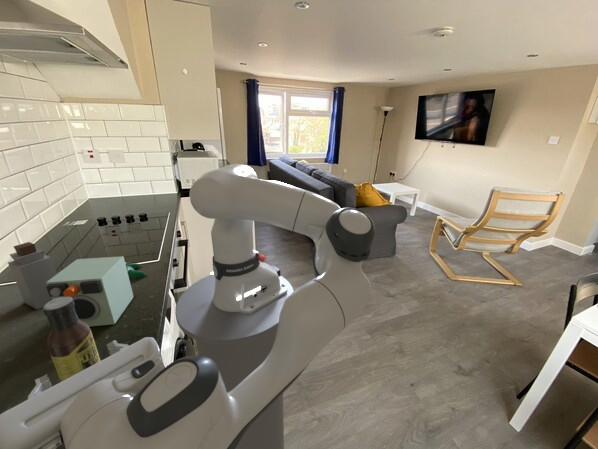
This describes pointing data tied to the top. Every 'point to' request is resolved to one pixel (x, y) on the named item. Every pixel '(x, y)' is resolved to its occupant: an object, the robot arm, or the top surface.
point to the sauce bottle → (69, 339)
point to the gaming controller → (132, 271)
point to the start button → (71, 291)
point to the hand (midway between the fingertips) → (79, 361)
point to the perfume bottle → (32, 273)
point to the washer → (95, 288)
